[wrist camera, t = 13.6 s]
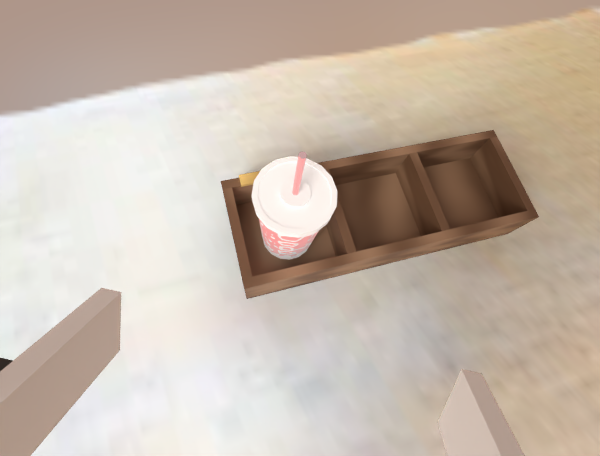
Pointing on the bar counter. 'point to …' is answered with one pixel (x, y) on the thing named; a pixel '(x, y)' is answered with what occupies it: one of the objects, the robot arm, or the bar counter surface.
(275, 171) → the beverage cup
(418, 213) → the brown wooden compartment tray
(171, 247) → the bar counter surface
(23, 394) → the robot arm
